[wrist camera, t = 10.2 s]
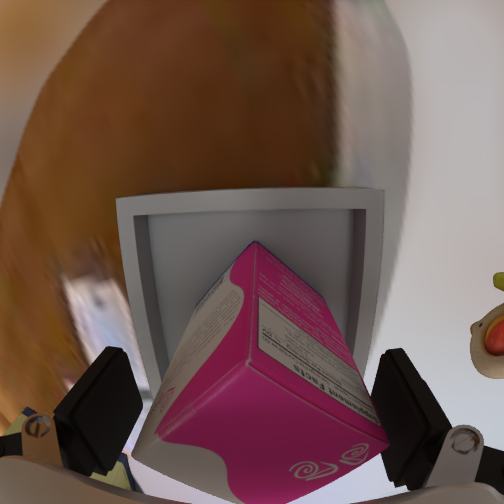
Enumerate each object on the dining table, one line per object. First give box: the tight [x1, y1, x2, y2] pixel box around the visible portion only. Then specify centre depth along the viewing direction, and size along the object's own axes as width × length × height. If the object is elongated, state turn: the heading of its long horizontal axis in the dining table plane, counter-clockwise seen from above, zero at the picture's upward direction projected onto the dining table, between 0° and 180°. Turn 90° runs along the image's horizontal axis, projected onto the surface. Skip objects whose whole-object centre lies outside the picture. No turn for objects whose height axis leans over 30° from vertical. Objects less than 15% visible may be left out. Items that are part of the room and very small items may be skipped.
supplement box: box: [131, 241, 390, 504], centre depth 12 cm, size 6×6×12 cm
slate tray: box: [116, 187, 384, 399], centre depth 17 cm, size 14×14×3 cm
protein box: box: [2, 407, 136, 492], centre depth 18 cm, size 10×16×16 cm
